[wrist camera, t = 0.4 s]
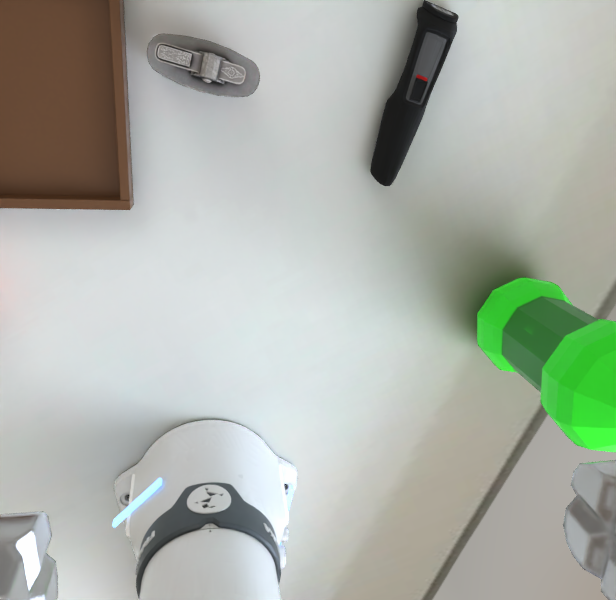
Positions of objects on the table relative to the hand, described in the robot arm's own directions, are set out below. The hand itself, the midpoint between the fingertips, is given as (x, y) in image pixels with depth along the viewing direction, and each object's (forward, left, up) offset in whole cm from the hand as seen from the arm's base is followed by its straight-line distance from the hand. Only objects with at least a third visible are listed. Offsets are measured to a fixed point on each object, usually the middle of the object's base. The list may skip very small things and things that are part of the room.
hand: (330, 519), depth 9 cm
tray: (+6, +14, -46) cm, 48 cm away
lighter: (+8, +2, -46) cm, 47 cm away
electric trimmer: (+7, -16, -46) cm, 49 cm away
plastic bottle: (-14, -29, -46) cm, 56 cm away
